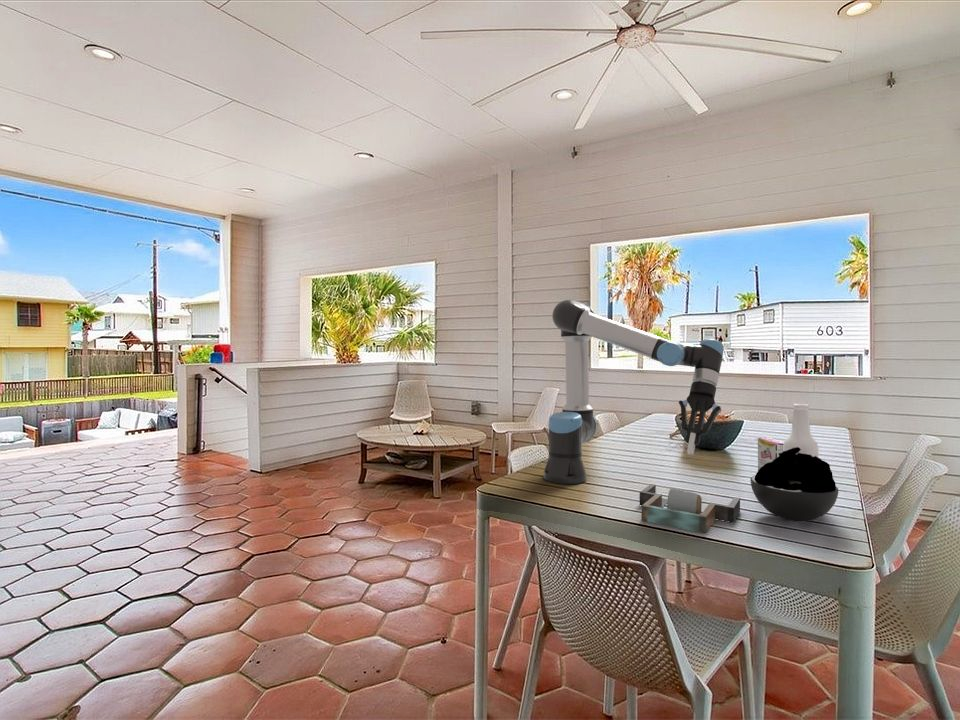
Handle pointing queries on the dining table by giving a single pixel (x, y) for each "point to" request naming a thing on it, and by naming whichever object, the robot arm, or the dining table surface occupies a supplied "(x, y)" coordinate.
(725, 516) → the box
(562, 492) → the dining table surface
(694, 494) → the grey cylinder
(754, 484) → the bowl of black rocks
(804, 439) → the alcohol
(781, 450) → the candy bar box
